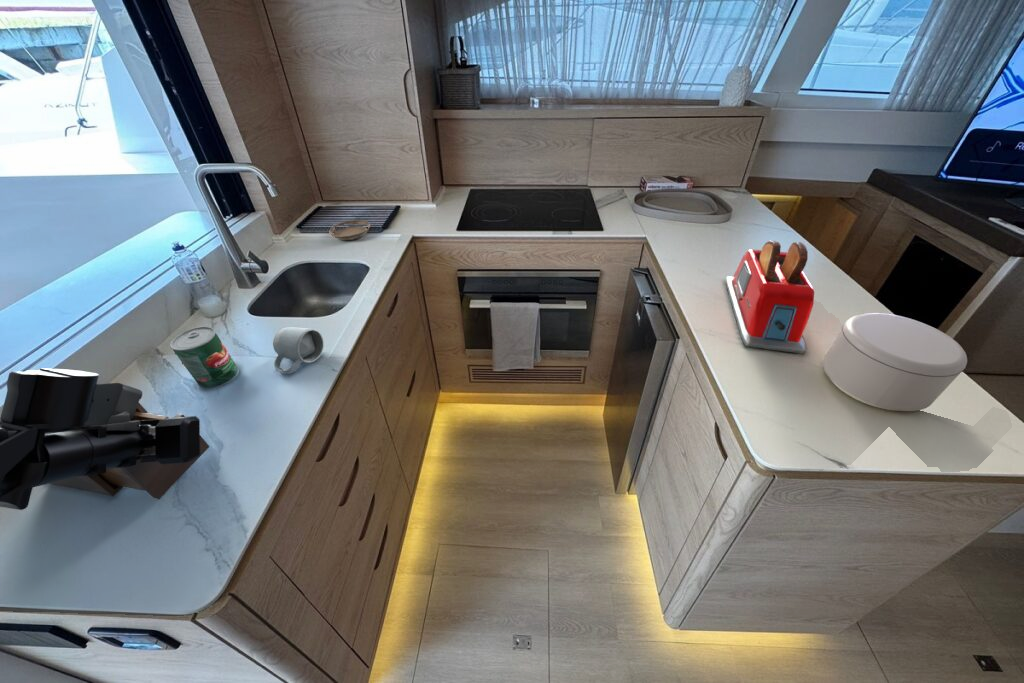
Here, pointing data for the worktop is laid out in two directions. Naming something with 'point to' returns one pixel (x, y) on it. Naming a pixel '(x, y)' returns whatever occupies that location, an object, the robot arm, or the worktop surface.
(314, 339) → the ceramic mug
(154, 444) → the robot arm
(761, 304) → the toaster
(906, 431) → the worktop surface
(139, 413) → the drawer
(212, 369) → the canned tomato
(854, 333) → the container
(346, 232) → the saucer
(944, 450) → the worktop surface
